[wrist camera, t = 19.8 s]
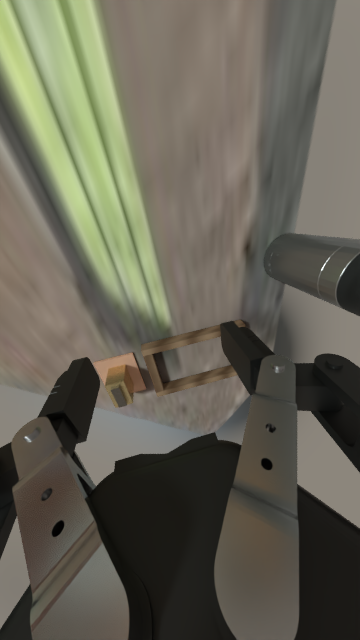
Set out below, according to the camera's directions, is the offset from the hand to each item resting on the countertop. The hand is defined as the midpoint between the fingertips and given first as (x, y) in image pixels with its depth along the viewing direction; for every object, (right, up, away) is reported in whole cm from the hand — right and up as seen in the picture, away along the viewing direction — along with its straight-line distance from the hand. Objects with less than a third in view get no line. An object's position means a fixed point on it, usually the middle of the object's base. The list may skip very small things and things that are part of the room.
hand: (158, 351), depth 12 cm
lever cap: (-13, -12, +35) cm, 40 cm away
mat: (-13, -12, +36) cm, 40 cm away
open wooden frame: (+5, -7, +37) cm, 38 cm away
